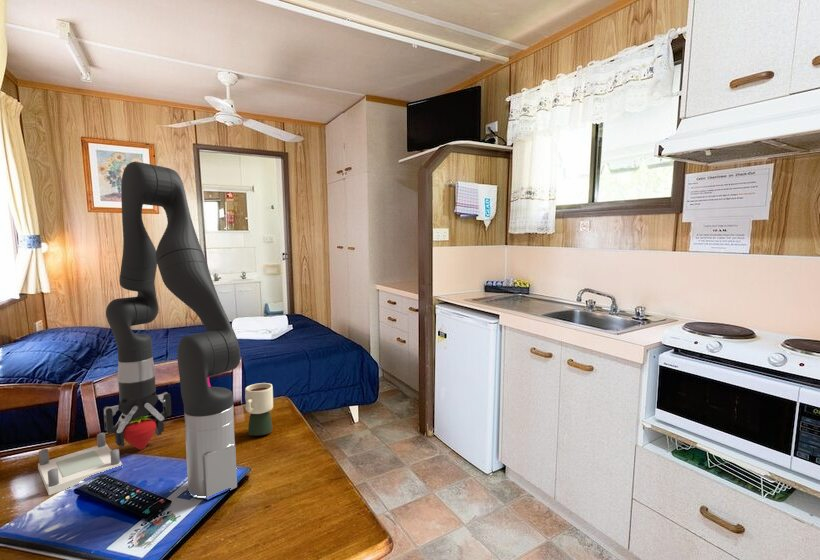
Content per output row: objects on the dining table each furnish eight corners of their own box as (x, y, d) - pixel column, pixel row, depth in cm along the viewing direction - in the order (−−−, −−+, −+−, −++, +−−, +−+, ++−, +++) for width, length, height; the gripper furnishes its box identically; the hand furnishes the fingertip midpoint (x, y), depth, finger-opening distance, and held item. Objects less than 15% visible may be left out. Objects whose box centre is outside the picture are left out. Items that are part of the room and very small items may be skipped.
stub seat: (122, 469, 91) (121, 450, 90) (48, 495, 81) (47, 474, 81) (105, 448, 100) (104, 431, 100) (38, 469, 91) (36, 451, 90)
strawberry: (118, 453, 98) (115, 414, 97) (149, 440, 104) (146, 403, 104) (132, 459, 95) (130, 419, 94) (163, 444, 102) (161, 407, 101)
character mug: (259, 423, 114) (258, 379, 113) (282, 425, 113) (281, 381, 112) (236, 441, 103) (234, 393, 102) (261, 444, 102) (259, 395, 101)
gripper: (105, 387, 90) (109, 456, 92) (174, 372, 101) (177, 434, 103) (97, 380, 95) (101, 446, 97) (163, 367, 106) (167, 425, 107)
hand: (140, 439), depth 100 cm, fingers closed on strawberry, 7 cm apart
